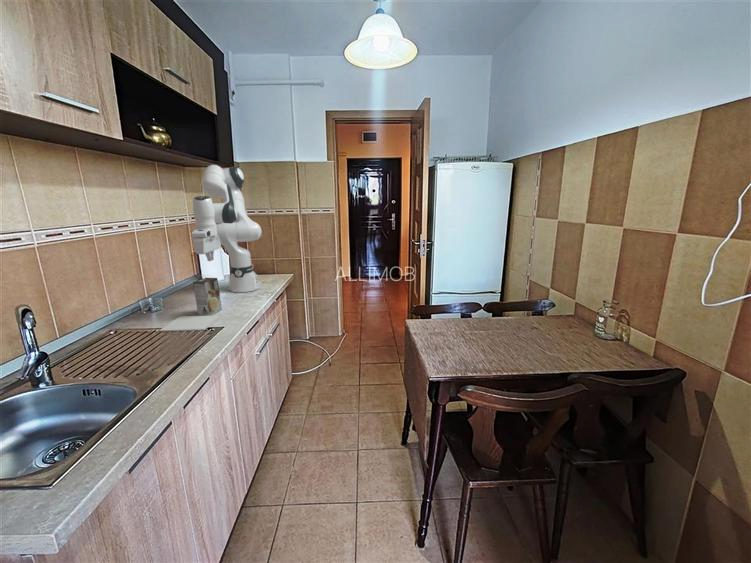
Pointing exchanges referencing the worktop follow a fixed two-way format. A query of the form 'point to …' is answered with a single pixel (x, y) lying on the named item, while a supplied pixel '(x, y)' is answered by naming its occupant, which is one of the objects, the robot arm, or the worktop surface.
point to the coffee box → (207, 296)
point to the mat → (190, 323)
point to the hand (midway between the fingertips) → (210, 260)
